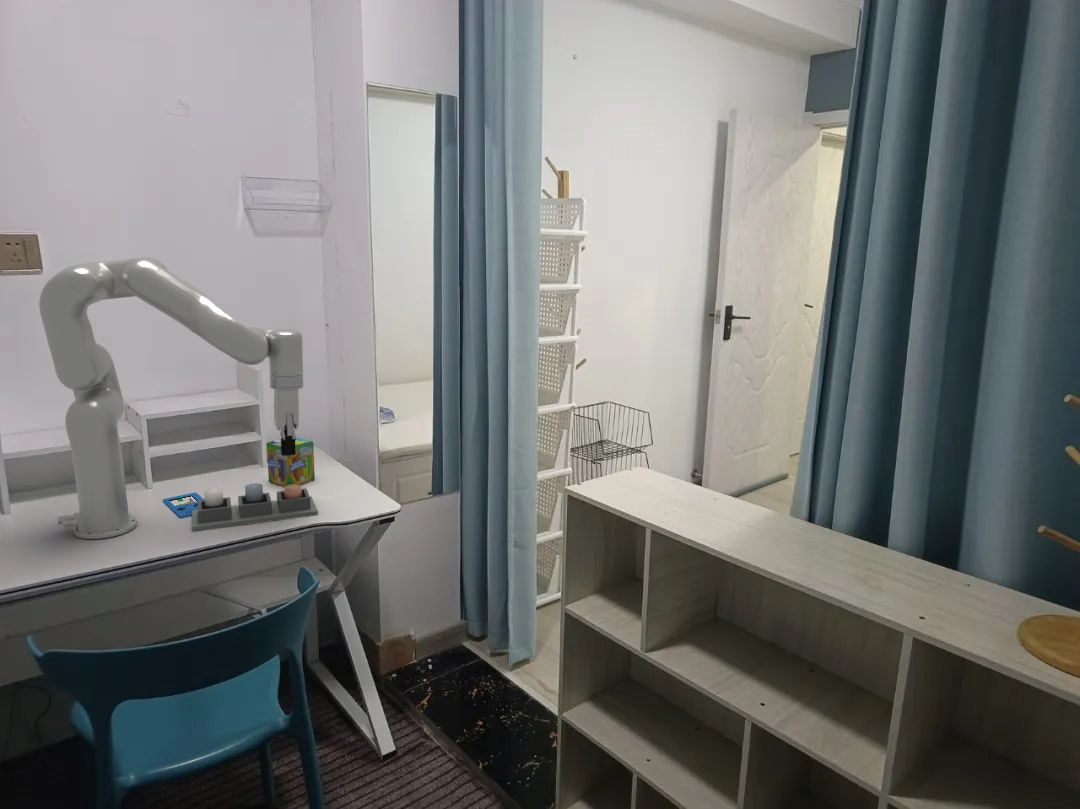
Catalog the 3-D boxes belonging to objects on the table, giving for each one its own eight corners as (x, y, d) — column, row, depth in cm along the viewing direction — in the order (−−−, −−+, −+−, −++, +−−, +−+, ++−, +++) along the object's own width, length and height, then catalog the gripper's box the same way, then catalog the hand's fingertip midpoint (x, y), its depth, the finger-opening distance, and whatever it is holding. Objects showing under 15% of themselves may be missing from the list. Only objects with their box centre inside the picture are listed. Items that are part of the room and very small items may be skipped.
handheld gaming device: (180, 515, 173) (161, 498, 184) (180, 520, 173) (162, 502, 184) (215, 507, 178) (195, 491, 189) (216, 512, 179) (196, 495, 189)
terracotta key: (285, 502, 177) (285, 490, 177) (284, 497, 181) (283, 485, 180) (302, 500, 179) (302, 488, 178) (300, 495, 183) (300, 483, 182)
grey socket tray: (192, 531, 166) (191, 515, 165) (192, 514, 176) (191, 498, 175) (317, 514, 178) (317, 499, 177) (311, 499, 188) (310, 485, 187)
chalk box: (290, 489, 195) (287, 436, 191) (267, 482, 199) (264, 431, 196) (316, 479, 203) (314, 429, 199) (293, 473, 207) (291, 424, 204)
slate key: (246, 502, 173) (245, 489, 173) (245, 496, 177) (244, 484, 176) (263, 500, 175) (263, 487, 174) (262, 494, 179) (261, 482, 178)
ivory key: (205, 507, 170) (204, 494, 169) (204, 501, 173) (203, 488, 172) (223, 505, 171) (222, 492, 171) (223, 499, 175) (222, 486, 174)
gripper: (267, 375, 178) (269, 447, 182) (273, 388, 165) (275, 464, 169) (299, 375, 181) (300, 445, 185) (307, 387, 168) (308, 462, 172)
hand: (288, 454), depth 177 cm, fingers closed
